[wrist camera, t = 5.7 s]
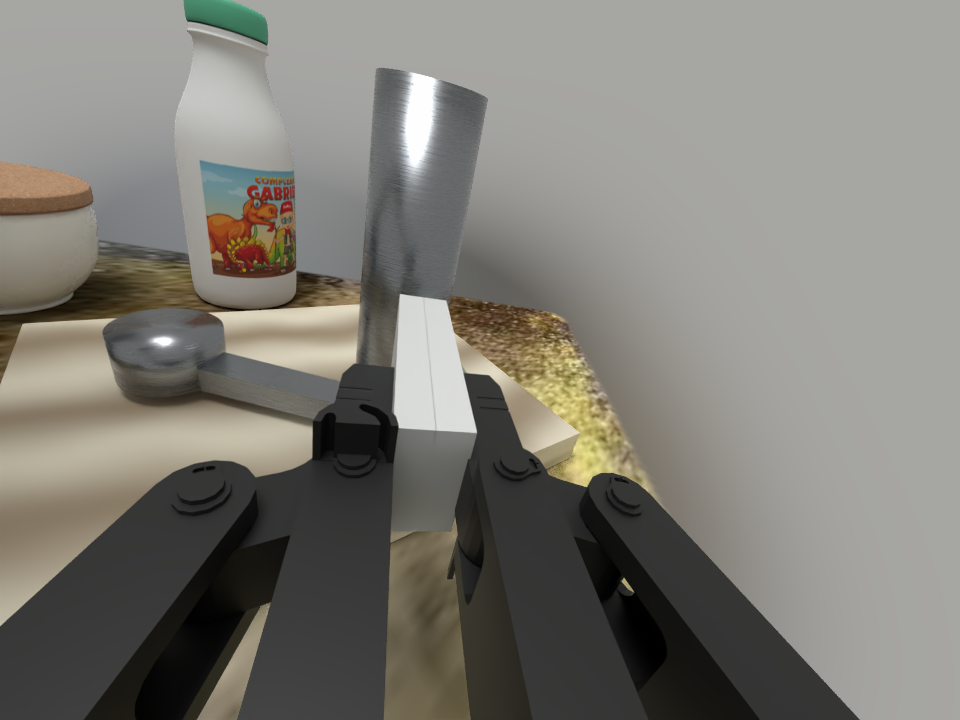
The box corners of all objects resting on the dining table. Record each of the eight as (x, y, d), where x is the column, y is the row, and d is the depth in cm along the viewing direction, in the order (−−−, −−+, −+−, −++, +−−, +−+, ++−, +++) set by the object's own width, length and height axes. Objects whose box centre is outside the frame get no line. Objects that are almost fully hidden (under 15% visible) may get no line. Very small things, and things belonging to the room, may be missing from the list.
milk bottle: (174, 303, 30) (115, -41, 21) (220, 273, 37) (191, 2, 28) (281, 317, 32) (270, 3, 22) (306, 286, 38) (306, 35, 29)
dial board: (35, 355, 22) (21, 320, 21) (411, 321, 37) (414, 299, 35) (-85, 768, 9) (-134, 728, 8) (569, 458, 24) (580, 430, 23)
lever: (87, 382, 17) (-45, -38, 11) (170, 342, 21) (109, 16, 15) (435, 471, 17) (514, 94, 10) (453, 414, 21) (520, 114, 14)
